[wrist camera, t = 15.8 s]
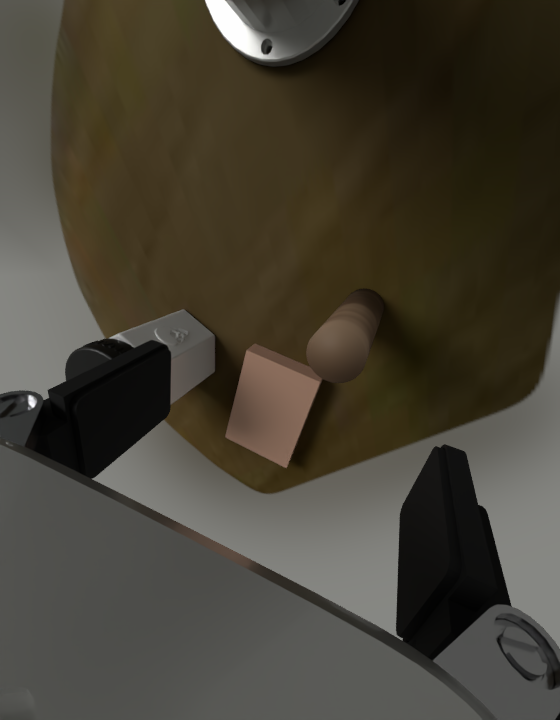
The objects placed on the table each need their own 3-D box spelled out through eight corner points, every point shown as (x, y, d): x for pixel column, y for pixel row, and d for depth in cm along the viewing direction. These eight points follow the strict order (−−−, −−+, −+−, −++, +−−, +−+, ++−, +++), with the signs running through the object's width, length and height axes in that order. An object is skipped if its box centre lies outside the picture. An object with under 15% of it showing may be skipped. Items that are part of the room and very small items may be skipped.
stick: (350, 284, 28) (313, 319, 18) (389, 294, 27) (374, 337, 17) (340, 320, 30) (301, 371, 19) (376, 331, 29) (355, 391, 18)
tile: (246, 350, 32) (225, 437, 38) (320, 382, 30) (286, 468, 36) (256, 342, 34) (234, 426, 40) (326, 371, 33) (292, 454, 38)
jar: (232, 346, 35) (156, 397, 25) (201, 392, 39) (126, 453, 29) (170, 294, 35) (71, 323, 25) (146, 345, 40) (53, 388, 29)
